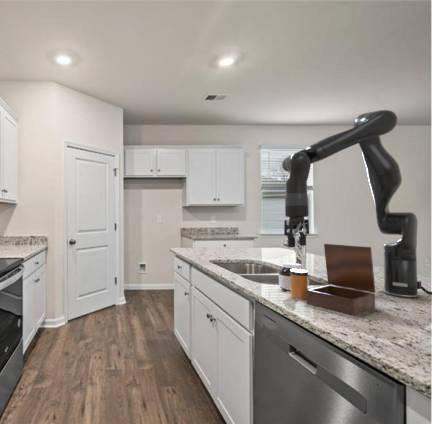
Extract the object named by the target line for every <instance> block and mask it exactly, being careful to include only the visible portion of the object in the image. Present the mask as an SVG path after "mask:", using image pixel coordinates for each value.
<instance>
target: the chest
mask: <svg viewBox="0 0 432 424" xmlns="http://www.w3.org/2000/svg"><path fill="white" fill-rule="evenodd" d="M306 305H309V306H312V307H317V308H320V309H325V310H328V311H332V312H336V313H340V314H344V315H348V316H351V317H355V316H359V315H362V314H364V313H367V312H370V311H373V310H375V309H376V294H375V292H369V291H364V292H363V291H358V290H352V289H347V288H342V287H337V286H335V285H331V284H327V285H323V286H318V287H313V288H308V290H307V299H306Z"/></svg>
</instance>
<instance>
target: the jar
mask: <svg viewBox="0 0 432 424" xmlns="http://www.w3.org/2000/svg"><path fill="white" fill-rule="evenodd" d="M290 274H291V291H290V297H291V298H293V299H297V300H307V290H309V288H308V287H309V285H308V286H307V278H308V276H309V271H308V270H306V269H302V270H299V269H291V270H290Z"/></svg>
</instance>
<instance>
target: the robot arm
mask: <svg viewBox="0 0 432 424" xmlns="http://www.w3.org/2000/svg"><path fill="white" fill-rule="evenodd" d="M397 124H398V116H397V114H396V112H394V111H392V110H388V109H381V110H380V109H379V110H374V111H369V112H365V113H362V114H360V115H358V116H357V117H356V118H355V120H354V121H353V127H351V128H349V129H346V130H344V131H341V132H338V133H335V134H332V135H330V136H327V137H325V138H323V139H320V140H319V141H317V142H315V143H313V144H311V145H309V146H308V147H306V148H304V149H301V150H299V151H297V152H294V153H292V154H290V155H288V156H286V157H285V158H284V159H283V161H282V163H281V168H282V169H283V171H285V172H286V173H289V177H288V178H287V180H286V181H285V197H284V211H285V213H284V214H285V217H286V218H289V219H284V226H283V227H284V229H283V230H284V231H283V235H284V236H286V237H287V247H289V248H295V247H296V235H297V234H298V245H299V246H301V247H302V246H303V247H305V246H307V236H308V235H310V221H309V219H306V218H308V217H309V195H308V179H309V176H310V172H311V171H310V170H311V165H312V164H314V163H318V162H321V161H323V160H326V159H328V158H329V157H331V156H333V155H335V154H338V153H339V152H342V151H344V150H346V149H349V148H350V147H353V146H356V145H357V144H358V145H359V148H360V150H361V153H362V157H363V161H364V165H365V167H366V173H367V179H368V182H369V186H370V190H371V193H372V197H373V202H374V209H375V217H376V223H377V228H378V231H379V232H380V233H381V234H383V235H390V236H401V238H400V239H399V240H396V241H393V242H389V243H385V244H384V245H383V286H384V287H383V288H384V290H383V293H385V294H386V295H390V296H394V297H400V298H409V299H412V298H413V299H414V298H418V297H419V294H418V290H422V292H423V293H426V294H428V295H432V291H429V290H427V289H426V288H425V287H424V286H422V281H420V280H418V262H417V261H418V260H417V246H418V227H419V225H418V224H419V223H418V217H417V215H416V214H415V212H411V211H399V212H398V211H395V212H393V211H392V212H391V211H390V202H391V200H392V199H393V197H394V195H395V194H396V193H397V191H398V190H399V188H400V186H401V185H402V183H403V177H402V173H401V167H400V165H399V163H398V162H397V160H396V159H395V158H394V156H393V155H392V154H390V152H389V151H387V149H386V148H385V147H384V145H383V143H382V140H381V137H382V136H384V135H387V134H389V133H390V132H392V131H393V130H394V129H395V128H396V126H397Z"/></svg>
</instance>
